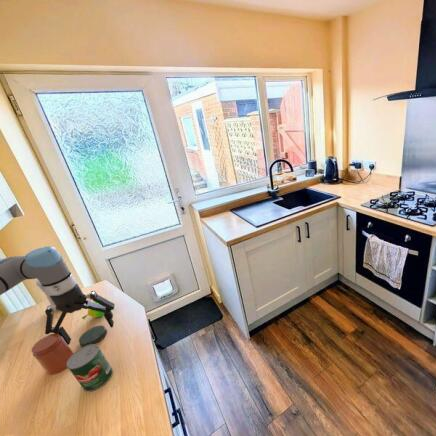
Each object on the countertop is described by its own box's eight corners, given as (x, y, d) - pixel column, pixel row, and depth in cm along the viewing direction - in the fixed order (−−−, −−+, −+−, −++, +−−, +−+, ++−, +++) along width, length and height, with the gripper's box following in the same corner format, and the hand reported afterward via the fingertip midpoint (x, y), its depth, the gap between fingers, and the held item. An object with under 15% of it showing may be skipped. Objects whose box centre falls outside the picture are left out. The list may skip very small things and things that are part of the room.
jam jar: (41, 377, 80) (23, 356, 76) (55, 357, 87) (39, 336, 82) (67, 370, 82) (51, 349, 77) (79, 350, 88) (65, 330, 84)
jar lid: (99, 345, 90) (97, 341, 89) (75, 349, 89) (73, 345, 88) (111, 327, 97) (109, 323, 96) (89, 331, 96) (87, 327, 96)
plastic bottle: (49, 310, 110) (24, 274, 101) (65, 299, 116) (42, 265, 107) (60, 312, 108) (35, 275, 100) (75, 301, 114) (53, 265, 106)
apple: (101, 295, 104) (76, 309, 97) (110, 307, 103) (85, 322, 96) (102, 301, 109) (78, 315, 102) (110, 312, 108) (86, 327, 101)
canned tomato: (86, 397, 73) (68, 374, 68) (80, 381, 78) (63, 358, 73) (116, 376, 78) (101, 352, 73) (109, 362, 83) (95, 339, 78)
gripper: (9, 312, 75) (45, 358, 84) (105, 280, 85) (128, 324, 94) (19, 298, 81) (52, 342, 90) (107, 270, 91) (129, 312, 100)
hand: (91, 333), depth 92 cm, fingers open, 13 cm apart
